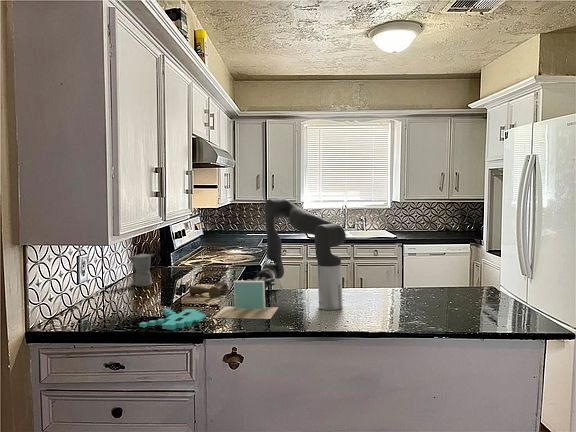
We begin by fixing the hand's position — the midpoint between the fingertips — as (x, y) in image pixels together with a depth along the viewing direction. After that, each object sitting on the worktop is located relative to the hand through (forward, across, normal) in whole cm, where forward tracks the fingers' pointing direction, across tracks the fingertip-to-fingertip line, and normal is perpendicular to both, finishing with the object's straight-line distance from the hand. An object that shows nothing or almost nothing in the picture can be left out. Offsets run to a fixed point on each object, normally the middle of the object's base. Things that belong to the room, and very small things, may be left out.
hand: (255, 286), depth 190 cm
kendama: (-13, -25, +8) cm, 29 cm away
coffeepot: (-35, -68, +8) cm, 77 cm away
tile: (+10, 0, +6) cm, 12 cm away
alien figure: (+24, -24, +8) cm, 35 cm away
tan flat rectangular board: (+15, 0, +8) cm, 17 cm away
